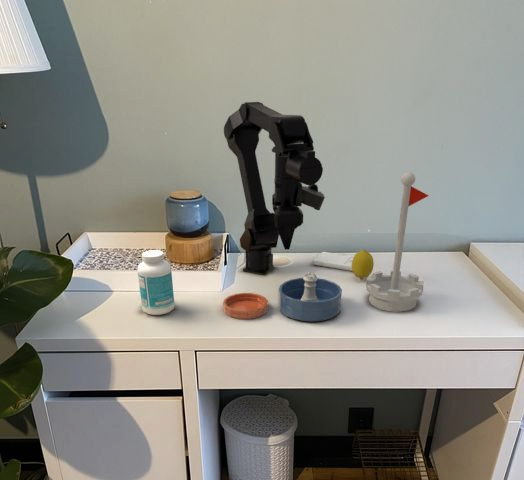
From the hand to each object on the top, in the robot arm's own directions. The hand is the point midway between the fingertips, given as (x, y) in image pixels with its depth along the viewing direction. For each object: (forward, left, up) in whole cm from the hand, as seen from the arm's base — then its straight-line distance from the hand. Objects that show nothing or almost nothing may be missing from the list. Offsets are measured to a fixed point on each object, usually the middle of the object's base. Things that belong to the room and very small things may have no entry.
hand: (285, 242), depth 133 cm
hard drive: (+6, +23, -12) cm, 27 cm away
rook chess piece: (+10, -8, -12) cm, 17 cm away
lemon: (+15, +15, -12) cm, 24 cm away
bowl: (+10, -8, -12) cm, 17 cm away
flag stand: (+26, +5, -12) cm, 29 cm away
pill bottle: (-21, -24, -12) cm, 34 cm away
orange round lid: (-3, -15, -12) cm, 19 cm away
